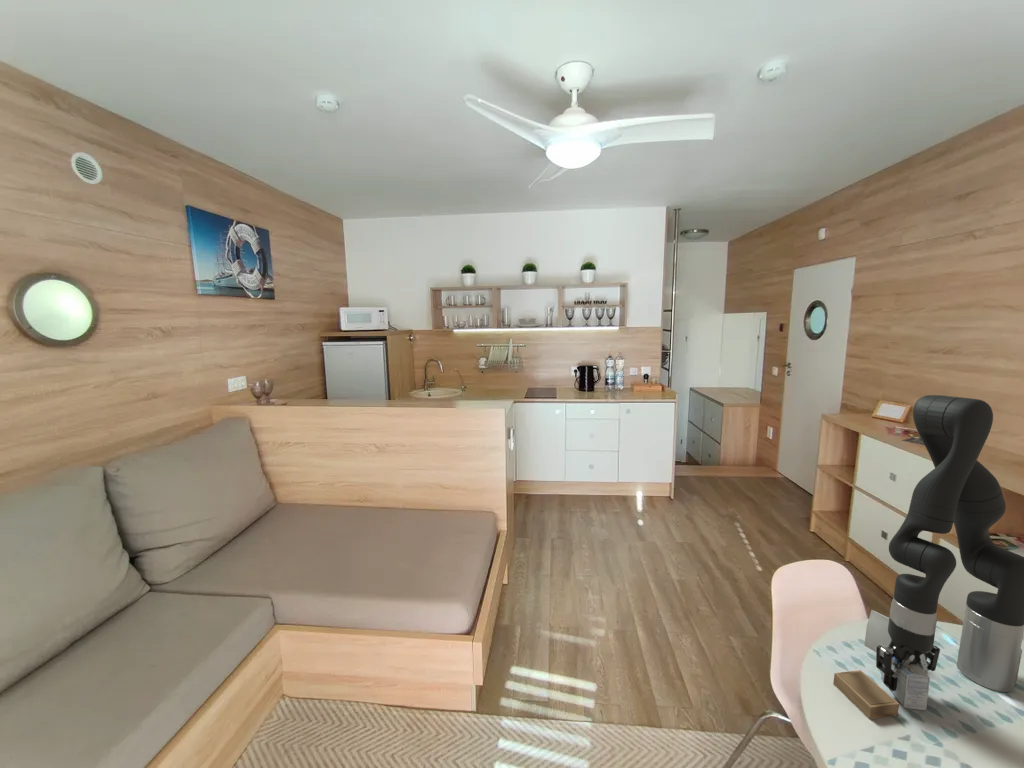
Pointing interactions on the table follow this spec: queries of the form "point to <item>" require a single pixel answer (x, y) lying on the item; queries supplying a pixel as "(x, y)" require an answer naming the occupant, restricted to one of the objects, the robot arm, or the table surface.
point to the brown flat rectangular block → (866, 694)
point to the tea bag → (877, 631)
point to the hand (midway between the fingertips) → (903, 686)
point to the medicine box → (911, 686)
